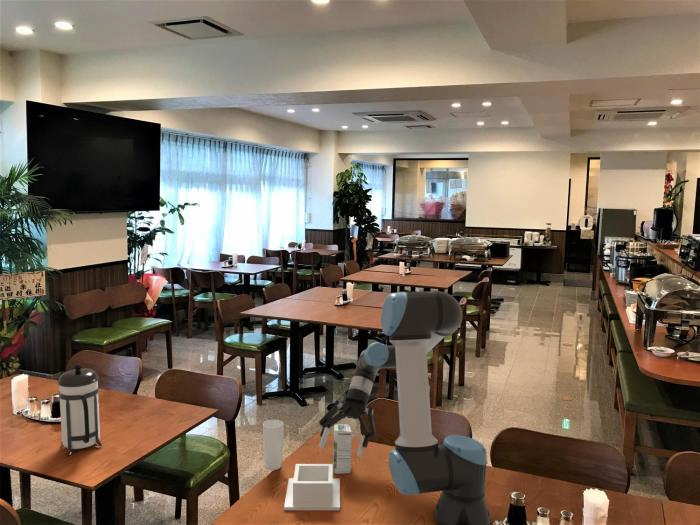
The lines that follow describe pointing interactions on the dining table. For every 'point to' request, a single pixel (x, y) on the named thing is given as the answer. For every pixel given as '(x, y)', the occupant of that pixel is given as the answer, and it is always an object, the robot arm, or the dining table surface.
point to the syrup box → (342, 449)
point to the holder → (313, 488)
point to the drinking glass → (273, 443)
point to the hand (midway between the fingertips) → (339, 451)
